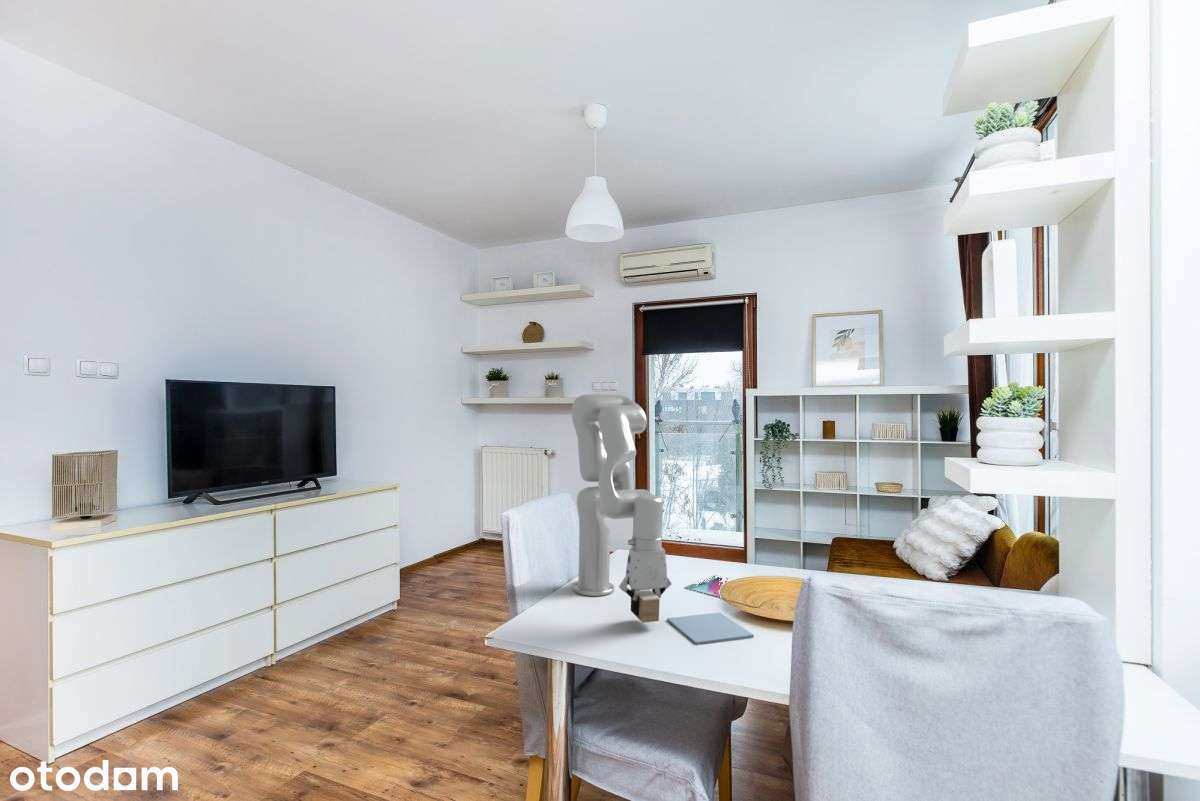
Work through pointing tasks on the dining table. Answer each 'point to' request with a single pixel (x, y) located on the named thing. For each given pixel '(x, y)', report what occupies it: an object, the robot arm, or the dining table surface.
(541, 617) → the dining table surface
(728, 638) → the mat
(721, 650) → the dining table surface
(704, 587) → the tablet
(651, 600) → the block
